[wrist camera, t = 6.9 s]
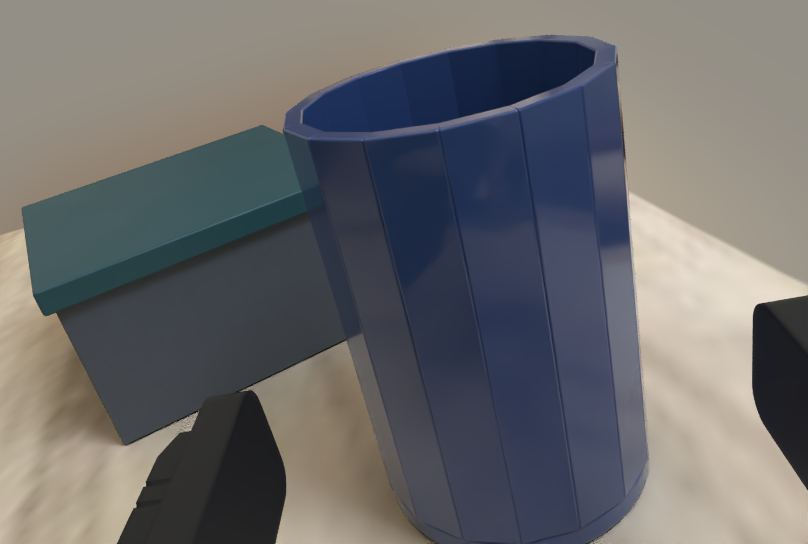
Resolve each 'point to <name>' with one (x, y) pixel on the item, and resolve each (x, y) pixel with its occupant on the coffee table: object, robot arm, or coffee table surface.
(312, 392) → the coffee table surface
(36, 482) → the coffee table surface
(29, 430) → the coffee table surface
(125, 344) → the container
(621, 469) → the cup
